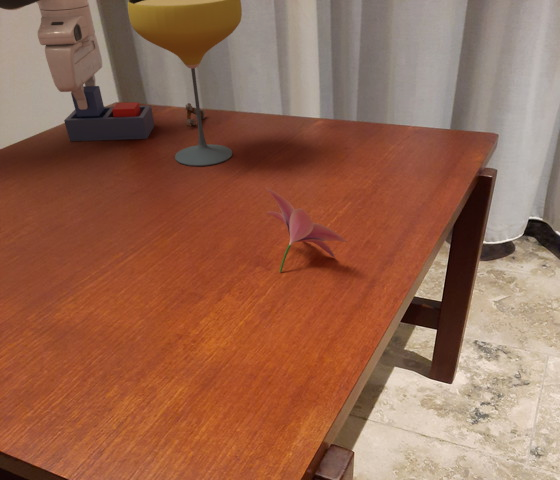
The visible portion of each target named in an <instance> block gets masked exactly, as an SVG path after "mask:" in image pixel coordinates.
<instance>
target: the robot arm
mask: <svg viewBox="0 0 560 480" xmlns="http://www.w3.org/2000/svg"><path fill="white" fill-rule="evenodd" d="M35 3H36V4H37V5H38V9H39V12H40V16H41V18H40V24H39V28H38V30H37V39H38V42H39V44H40V45H41V46H44V54H45V59H46V62H47V66H48V70H49V72H50V75H51V77H52V80H53V83H54V85H55V87H56V89H57V90H58V92H59V93H71V92H72V94H73V95H74V97H75V99H76V100H77V104H78V108H79V109H81V110H82V109H87V108H88V107H89V103H88V98H86V97H85V94H84V91H83V90H84V86H96V73H97V72H99V71H100V70H101V69H102V68H103V58H102V54H101V50H100V46H99V43H98V39H97V36H96V30H95V26H94V25H95V24H94V21H93V16H92V12H91V7H90V3H89V1H88V0H0V9H2V10H6V11H17V10H20V9H22V8H25V7H26V6H30V5H32V4H35Z"/></svg>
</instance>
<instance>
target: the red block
mask: <svg viewBox="0 0 560 480" xmlns="http://www.w3.org/2000/svg"><path fill="white" fill-rule="evenodd" d="M140 106H141V105H140V103H139V102H138V101H137V102H133V101H132V102H117V103H116V104H115V105H114V106H113V107H114V108H113V109H112V111H113V116H114V117H137V116H140V114H141V112H140Z"/></svg>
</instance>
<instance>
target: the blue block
mask: <svg viewBox="0 0 560 480" xmlns="http://www.w3.org/2000/svg"><path fill="white" fill-rule="evenodd" d="M83 87H84V90H83V91H84V94H85V97H86V98H88V103H89V107H88V108H87V109H82V110H81V109H79V108H78V104H77V100H76V99H75V97H74V95H73V94H72V92H70V95H71V98H72V104H73V107H74V110H76V114H77V117H84V116H99V115H100V114H101V113H102V112H103V111H104V107H105V105H104V101H103V96H102V92H101V89H100V85H95V86H85V85H83Z"/></svg>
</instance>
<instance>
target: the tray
mask: <svg viewBox="0 0 560 480" xmlns="http://www.w3.org/2000/svg"><path fill="white" fill-rule="evenodd" d="M139 106H140V112H141V114H140V116H137V117H114V116H113V111H112V109H113V108H114V107H115V106H104V111H103V112H102V113H101V114H100V115H99V116H84V117H77V114H76V110H75V109H74V110H73V111H72V112H71V113H70V114H69V115H68V116H67V117H66V118H65V119H64V120H63V122H64V125H65V129H66V133H67V136H68V140H69V142H89V141H91V142H93V141H95V142H96V141H121V140H122V141H123V140H147V139H148V138H149V137H150V134H151V132H152V131H153V129H154V128H155V120H154V114H153V108H152V105H149V104H147V105H139Z"/></svg>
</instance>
